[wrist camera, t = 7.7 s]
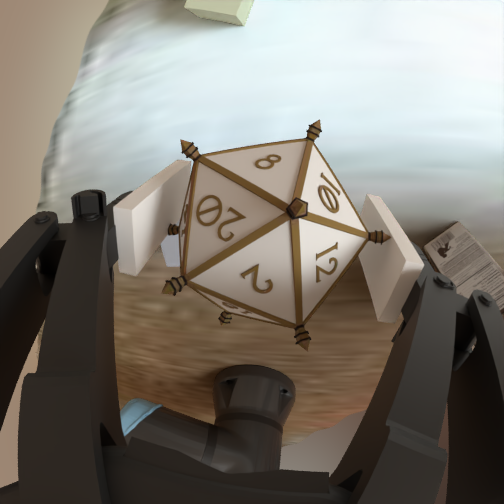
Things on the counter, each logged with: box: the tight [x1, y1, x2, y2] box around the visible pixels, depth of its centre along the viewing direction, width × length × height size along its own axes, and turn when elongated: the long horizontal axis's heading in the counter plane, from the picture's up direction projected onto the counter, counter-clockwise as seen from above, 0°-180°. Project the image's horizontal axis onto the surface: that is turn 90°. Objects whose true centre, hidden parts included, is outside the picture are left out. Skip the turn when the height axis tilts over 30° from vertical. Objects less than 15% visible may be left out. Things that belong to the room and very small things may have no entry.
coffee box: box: [424, 222, 504, 346], centre depth 27 cm, size 9×6×16 cm
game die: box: [162, 120, 391, 351], centre depth 12 cm, size 9×8×10 cm
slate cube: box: [160, 219, 180, 267], centre depth 35 cm, size 5×5×5 cm
